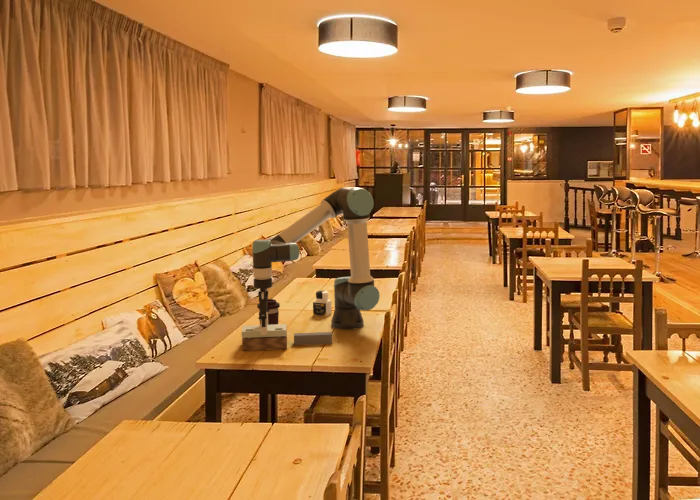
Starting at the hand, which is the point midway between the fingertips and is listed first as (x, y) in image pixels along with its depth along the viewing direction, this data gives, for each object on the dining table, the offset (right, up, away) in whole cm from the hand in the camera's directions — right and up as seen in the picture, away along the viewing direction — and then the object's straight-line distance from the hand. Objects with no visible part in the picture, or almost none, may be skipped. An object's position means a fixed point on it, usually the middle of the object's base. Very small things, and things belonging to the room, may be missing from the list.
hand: (264, 330), depth 265 cm
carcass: (0, -7, +4) cm, 8 cm away
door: (0, -1, 0) cm, 1 cm away
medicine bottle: (+21, +1, +58) cm, 61 cm away
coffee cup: (-1, -4, +24) cm, 24 cm away
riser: (+20, -6, +7) cm, 22 cm away
